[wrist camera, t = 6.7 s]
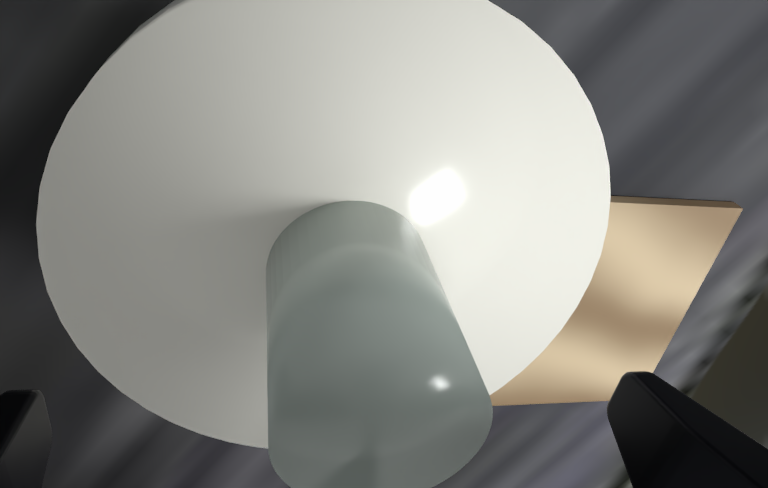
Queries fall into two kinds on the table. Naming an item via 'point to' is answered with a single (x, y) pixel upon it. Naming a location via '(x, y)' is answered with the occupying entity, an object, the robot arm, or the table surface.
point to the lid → (325, 225)
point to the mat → (628, 299)
